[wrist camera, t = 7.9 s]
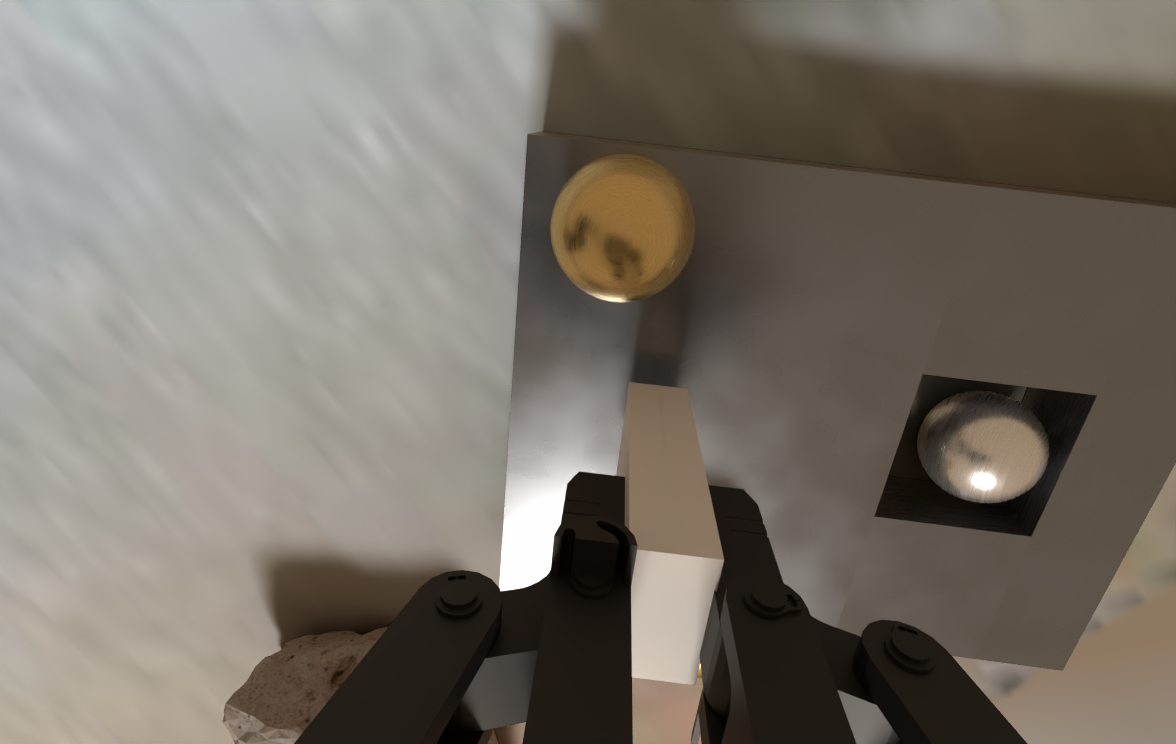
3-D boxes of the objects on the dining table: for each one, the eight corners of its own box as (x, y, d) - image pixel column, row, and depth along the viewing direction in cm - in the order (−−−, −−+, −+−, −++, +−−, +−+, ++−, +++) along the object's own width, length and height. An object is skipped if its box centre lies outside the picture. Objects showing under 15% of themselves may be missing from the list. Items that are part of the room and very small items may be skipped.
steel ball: (886, 486, 18) (1008, 541, 16) (920, 388, 17) (1056, 435, 15) (924, 454, 21) (1034, 499, 19) (956, 365, 19) (1078, 404, 17)
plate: (513, 545, 22) (498, 595, 20) (542, 131, 17) (527, 134, 15) (1017, 612, 22) (1062, 670, 20) (1212, 208, 17) (1306, 223, 14)
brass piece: (553, 275, 16) (534, 311, 13) (565, 142, 15) (547, 149, 12) (678, 290, 16) (687, 329, 13) (699, 158, 15) (715, 169, 12)
